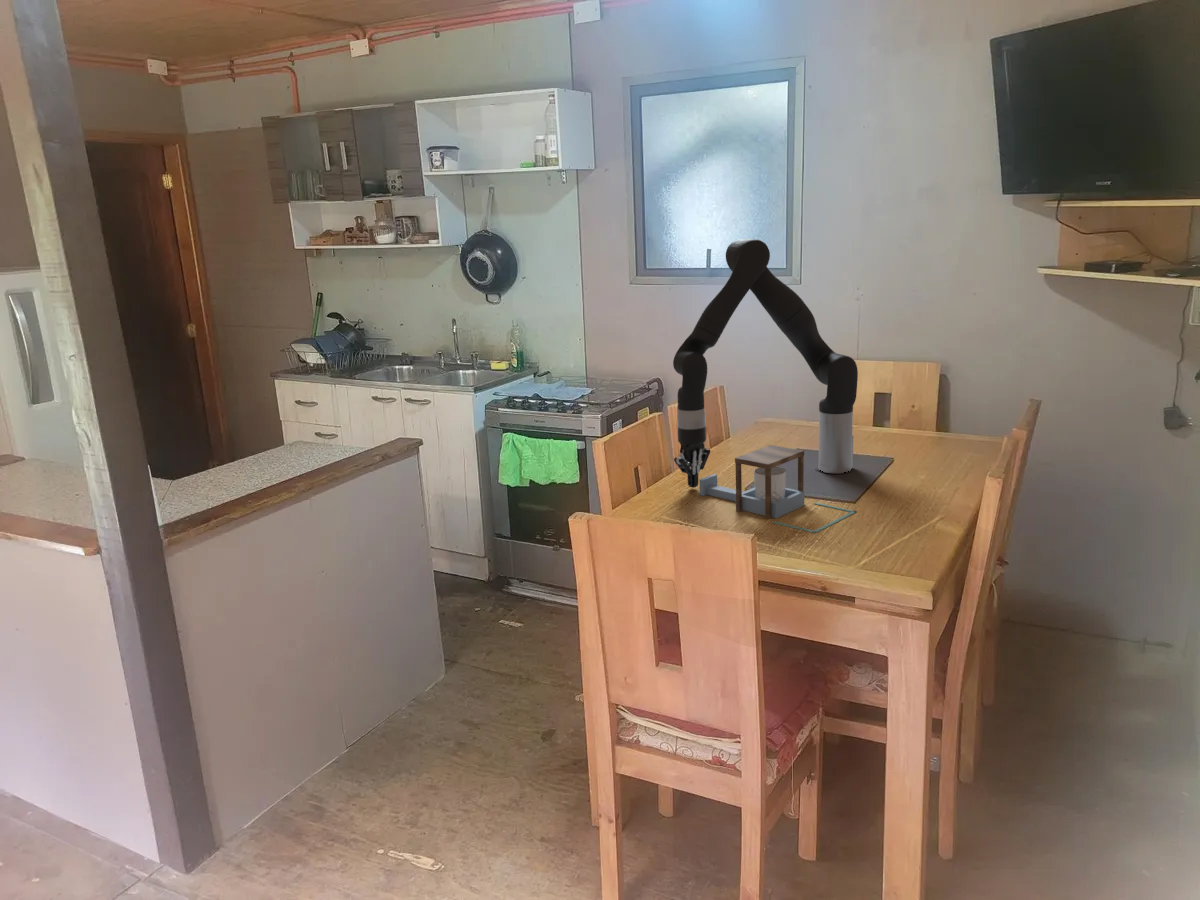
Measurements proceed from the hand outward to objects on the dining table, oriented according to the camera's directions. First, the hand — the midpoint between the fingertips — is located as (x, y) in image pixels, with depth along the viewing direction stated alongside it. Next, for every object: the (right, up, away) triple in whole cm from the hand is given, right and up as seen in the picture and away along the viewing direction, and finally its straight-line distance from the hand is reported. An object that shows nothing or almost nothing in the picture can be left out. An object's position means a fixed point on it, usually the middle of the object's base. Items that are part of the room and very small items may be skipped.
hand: (693, 486), depth 236 cm
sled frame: (+12, -3, -12) cm, 18 cm away
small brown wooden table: (+18, -5, -17) cm, 25 cm away
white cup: (+18, -5, -17) cm, 25 cm away
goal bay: (+27, -7, -26) cm, 38 cm away
